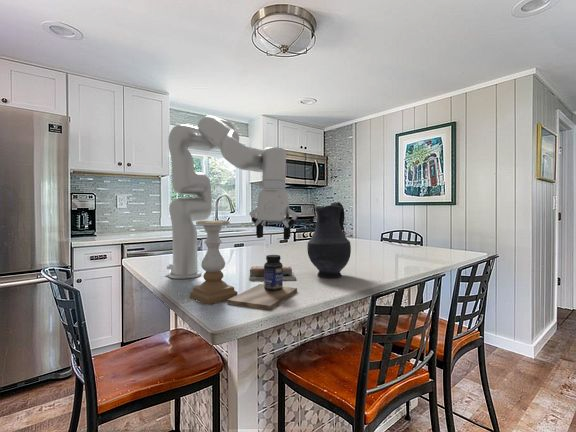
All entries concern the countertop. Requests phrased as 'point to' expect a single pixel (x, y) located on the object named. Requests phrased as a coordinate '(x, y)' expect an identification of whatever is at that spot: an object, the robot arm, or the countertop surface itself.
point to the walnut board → (262, 297)
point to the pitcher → (329, 242)
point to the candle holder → (213, 268)
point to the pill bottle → (273, 273)
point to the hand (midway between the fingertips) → (272, 238)
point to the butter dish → (258, 273)
